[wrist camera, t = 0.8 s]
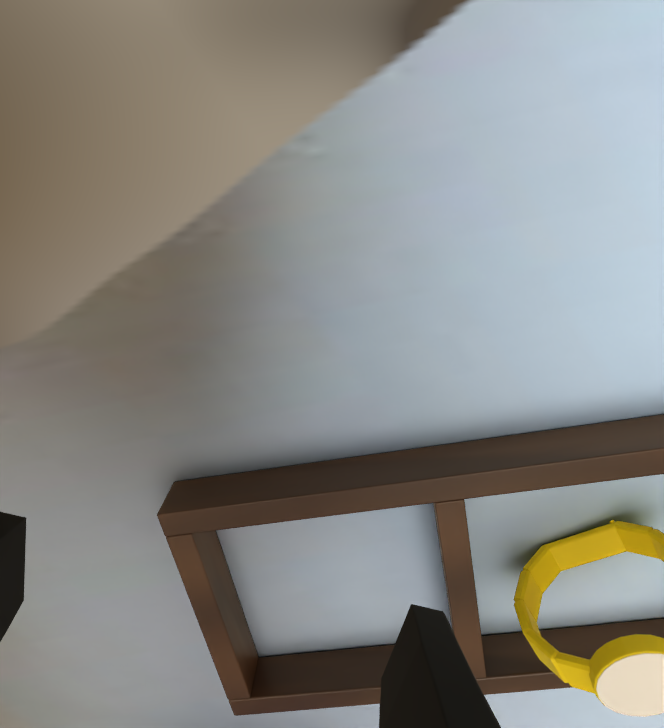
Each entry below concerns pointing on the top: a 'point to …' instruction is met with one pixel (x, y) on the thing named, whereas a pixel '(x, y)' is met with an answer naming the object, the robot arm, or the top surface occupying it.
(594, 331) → the top surface
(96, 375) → the top surface
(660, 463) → the holder
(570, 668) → the watch
